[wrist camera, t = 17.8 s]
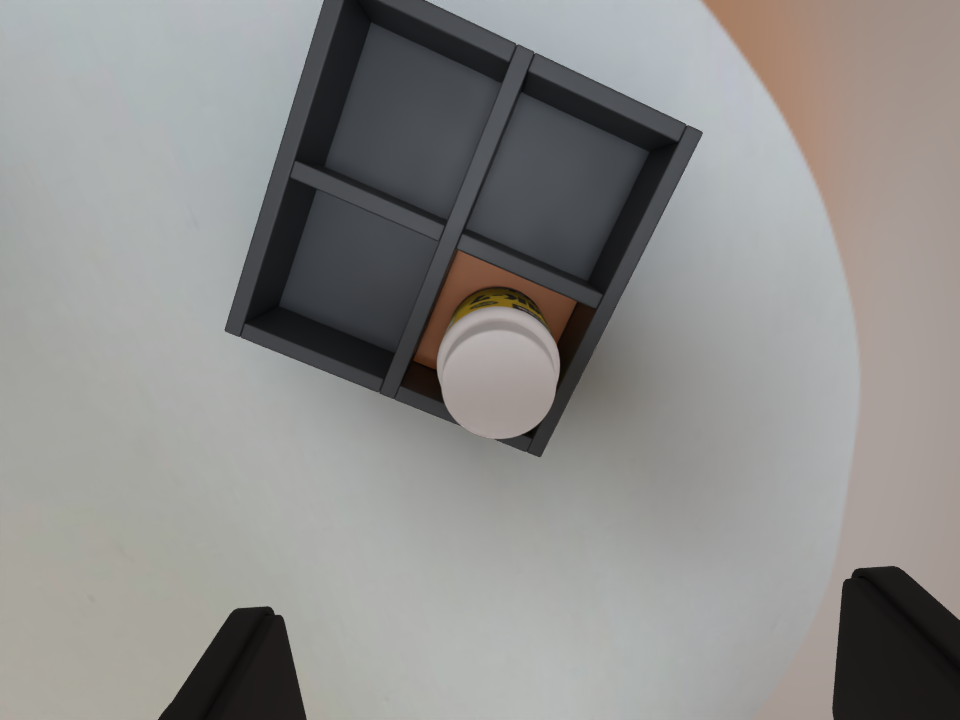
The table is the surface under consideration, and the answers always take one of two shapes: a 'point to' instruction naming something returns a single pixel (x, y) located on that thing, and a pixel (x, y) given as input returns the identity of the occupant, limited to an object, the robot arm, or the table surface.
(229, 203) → the table surface
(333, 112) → the box
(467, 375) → the supplement bottle
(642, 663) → the table surface
